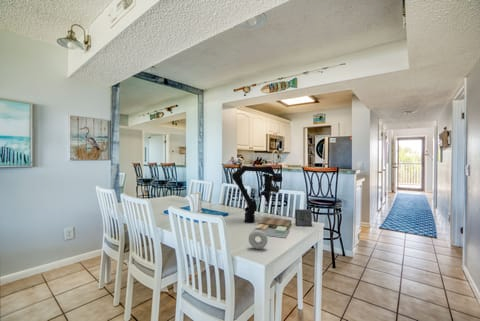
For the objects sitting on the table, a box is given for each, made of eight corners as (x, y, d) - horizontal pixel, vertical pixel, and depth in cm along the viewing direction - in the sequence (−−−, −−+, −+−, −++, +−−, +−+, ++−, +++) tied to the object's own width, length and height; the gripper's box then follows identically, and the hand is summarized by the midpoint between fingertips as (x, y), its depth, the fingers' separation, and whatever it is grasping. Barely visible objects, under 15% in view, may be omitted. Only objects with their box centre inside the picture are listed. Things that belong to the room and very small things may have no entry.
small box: (310, 223, 164) (310, 209, 164) (312, 226, 158) (312, 211, 157) (295, 223, 165) (295, 208, 165) (296, 226, 159) (296, 211, 158)
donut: (248, 249, 119) (248, 230, 119) (249, 246, 123) (249, 228, 123) (267, 250, 118) (267, 231, 118) (267, 248, 121) (267, 229, 121)
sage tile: (275, 232, 144) (275, 229, 144) (277, 228, 152) (277, 226, 152) (284, 233, 142) (285, 230, 142) (287, 229, 150) (287, 227, 149)
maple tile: (256, 230, 149) (256, 227, 149) (260, 226, 156) (259, 224, 156) (265, 231, 146) (265, 228, 146) (268, 227, 154) (268, 225, 154)
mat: (250, 233, 143) (250, 233, 143) (256, 227, 156) (256, 226, 156) (285, 238, 135) (285, 237, 135) (289, 231, 148) (289, 230, 148)
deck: (258, 227, 157) (258, 222, 156) (264, 221, 170) (264, 217, 170) (288, 230, 149) (288, 225, 149) (291, 224, 162) (291, 220, 162)
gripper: (276, 184, 160) (275, 206, 161) (281, 181, 178) (281, 201, 178) (260, 183, 164) (260, 205, 165) (267, 180, 182) (267, 200, 182)
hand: (268, 203), depth 172 cm, fingers closed
